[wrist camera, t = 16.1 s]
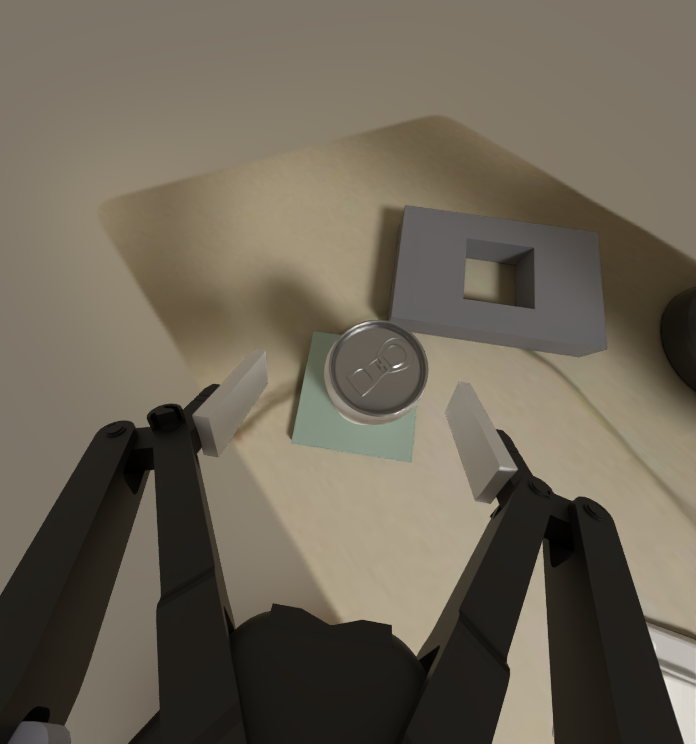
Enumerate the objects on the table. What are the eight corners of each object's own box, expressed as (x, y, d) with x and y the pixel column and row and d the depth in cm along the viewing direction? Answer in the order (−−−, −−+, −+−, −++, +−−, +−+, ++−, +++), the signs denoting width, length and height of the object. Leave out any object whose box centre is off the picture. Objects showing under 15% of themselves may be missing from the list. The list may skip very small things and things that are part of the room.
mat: (419, 349, 28) (422, 347, 27) (408, 461, 25) (411, 462, 24) (314, 334, 28) (313, 330, 27) (293, 442, 25) (291, 443, 24)
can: (406, 398, 25) (460, 376, 14) (357, 438, 25) (370, 450, 13) (367, 351, 26) (386, 292, 15) (319, 387, 26) (298, 355, 14)
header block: (574, 250, 31) (598, 232, 28) (579, 357, 28) (607, 349, 25) (399, 225, 31) (405, 205, 28) (386, 328, 28) (391, 316, 25)
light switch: (596, 615, 20) (775, 684, 19) (556, 584, 24) (701, 639, 23) (580, 784, 18) (782, 877, 16) (539, 719, 22) (699, 789, 20)
